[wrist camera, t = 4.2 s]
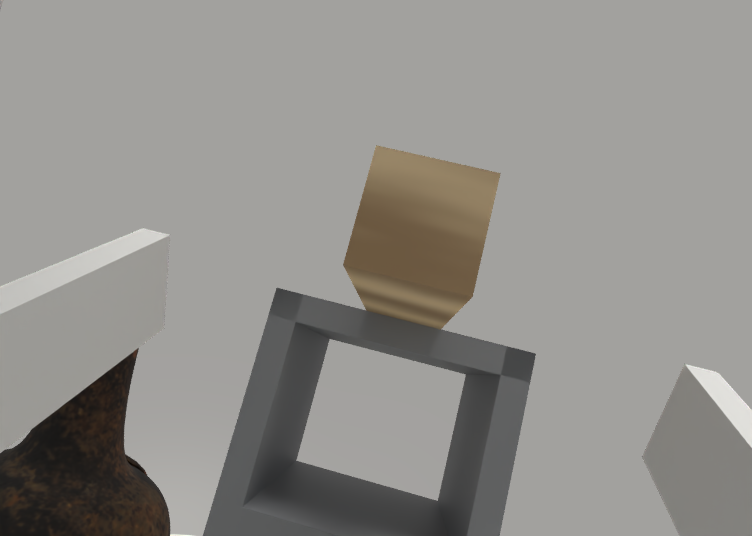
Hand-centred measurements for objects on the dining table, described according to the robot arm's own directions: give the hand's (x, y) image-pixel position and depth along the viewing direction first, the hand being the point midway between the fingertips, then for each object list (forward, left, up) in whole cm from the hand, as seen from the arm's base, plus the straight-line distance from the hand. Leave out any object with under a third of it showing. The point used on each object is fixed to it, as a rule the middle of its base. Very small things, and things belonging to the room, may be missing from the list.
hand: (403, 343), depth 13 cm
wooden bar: (-9, +14, +2) cm, 17 cm away
